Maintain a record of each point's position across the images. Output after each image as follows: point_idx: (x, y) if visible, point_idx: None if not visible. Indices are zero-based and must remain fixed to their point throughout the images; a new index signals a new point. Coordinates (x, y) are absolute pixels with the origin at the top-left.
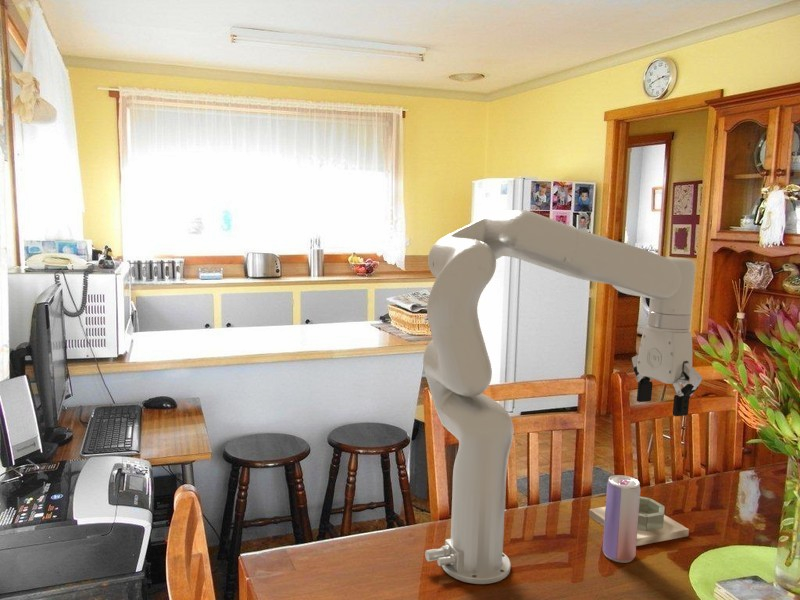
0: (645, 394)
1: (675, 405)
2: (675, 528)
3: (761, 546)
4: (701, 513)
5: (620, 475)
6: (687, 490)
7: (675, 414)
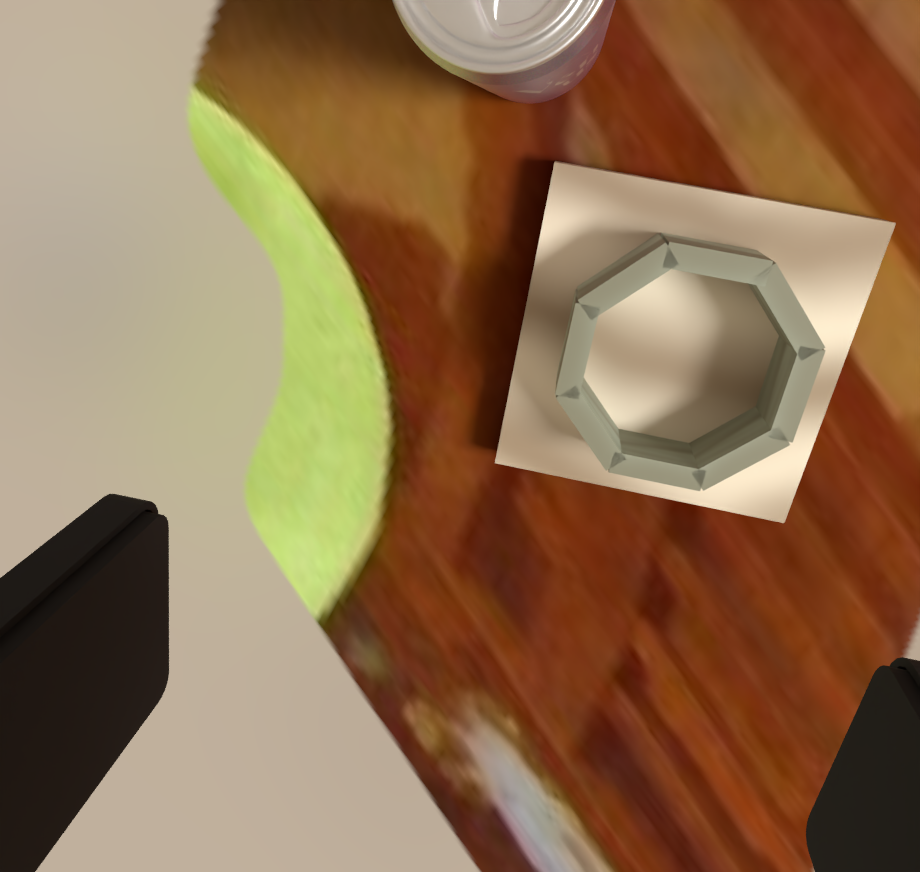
0: (884, 839)
1: (14, 572)
2: (526, 421)
3: (328, 599)
4: (594, 657)
5: (589, 10)
6: (753, 788)
7: (103, 506)
